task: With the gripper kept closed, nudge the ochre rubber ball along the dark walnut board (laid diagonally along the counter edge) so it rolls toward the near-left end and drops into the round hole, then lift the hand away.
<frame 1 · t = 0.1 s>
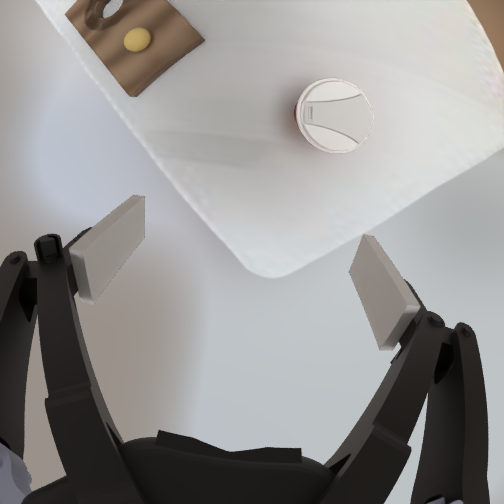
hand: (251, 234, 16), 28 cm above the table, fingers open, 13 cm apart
board: (128, 22, 28), on the table
coffee cup: (314, 114, 36), on the table
ball: (137, 39, 27), point 4 cm above the table, touching board
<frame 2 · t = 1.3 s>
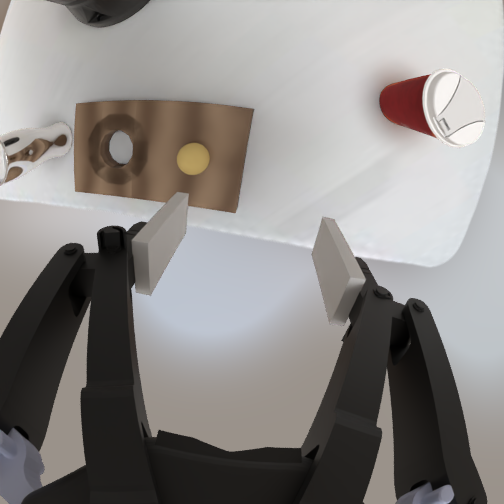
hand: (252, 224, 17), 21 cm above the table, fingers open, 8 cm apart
board: (154, 148, 35), on the table
beer glass: (60, 139, 34), on the table
coffee cup: (397, 103, 30), on the table
ball: (193, 158, 31), point 4 cm above the table, touching board
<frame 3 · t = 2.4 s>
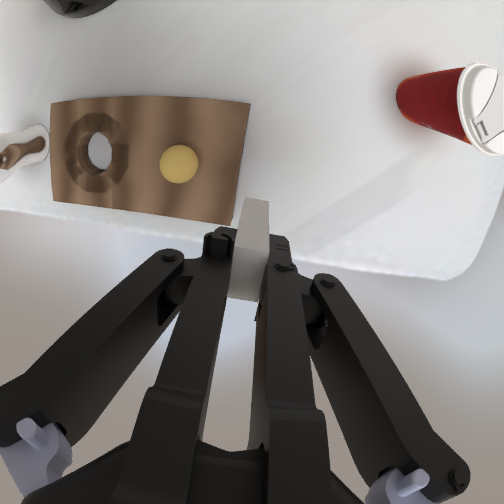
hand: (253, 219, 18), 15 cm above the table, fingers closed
board: (136, 151, 30), on the table
beer glass: (38, 143, 29), on the table
coffee cup: (415, 100, 25), on the table
ball: (178, 164, 26), point 4 cm above the table, touching board
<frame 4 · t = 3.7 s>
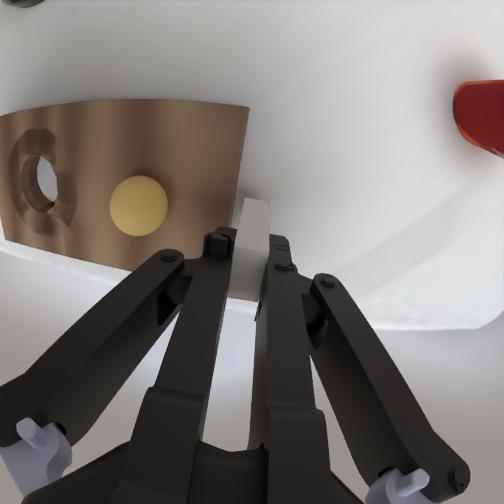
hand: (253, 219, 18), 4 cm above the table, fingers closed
board: (91, 179, 20), on the table
coffee cup: (474, 112, 15), on the table
ball: (138, 205, 17), point 4 cm above the table, touching board
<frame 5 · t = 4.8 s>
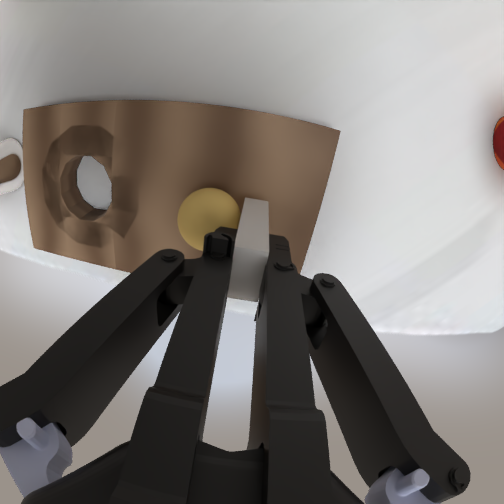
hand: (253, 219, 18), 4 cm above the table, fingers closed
board: (149, 186, 21), on the table
beer glass: (12, 163, 19), on the table
ball: (209, 219, 17), point 4 cm above the table, tilted 29°, touching board
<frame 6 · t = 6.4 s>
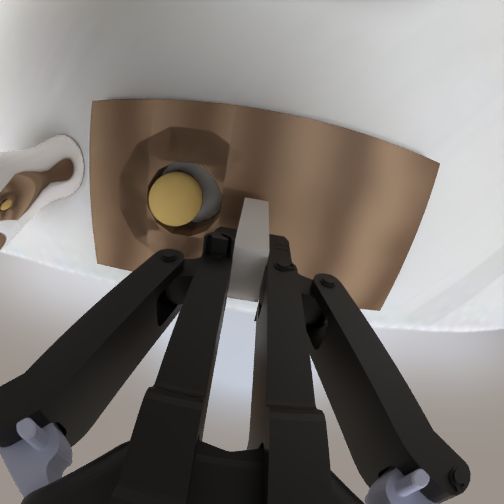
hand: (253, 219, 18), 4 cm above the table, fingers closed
board: (254, 200, 21), on the table
beer glass: (62, 165, 20), on the table
ball: (175, 198, 19), point 2 cm above the table, tilted 6°
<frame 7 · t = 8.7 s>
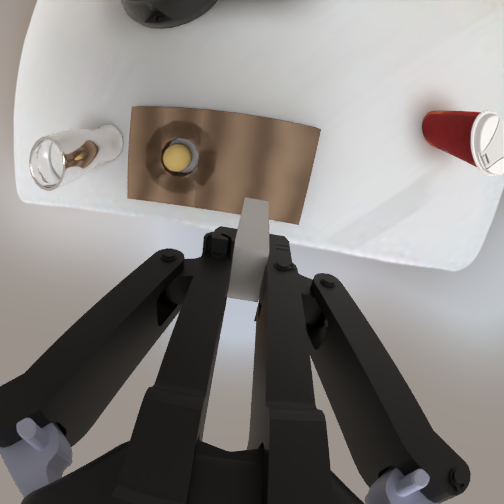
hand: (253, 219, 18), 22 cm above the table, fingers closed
board: (217, 158, 37), on the table
beer glass: (107, 142, 36), on the table
coffee cup: (436, 128, 32), on the table
ball: (177, 157, 35), point 2 cm above the table, tilted 12°
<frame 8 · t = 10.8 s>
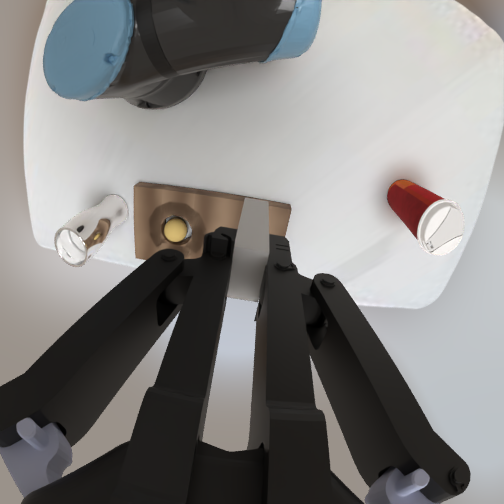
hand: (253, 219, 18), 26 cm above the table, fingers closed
board: (207, 229, 47), on the table
beer glass: (115, 209, 46), on the table
coffee cup: (401, 194, 42), on the table
ball: (175, 230, 45), point 2 cm above the table, tilted 18°
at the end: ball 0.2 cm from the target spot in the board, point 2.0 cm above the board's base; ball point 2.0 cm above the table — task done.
